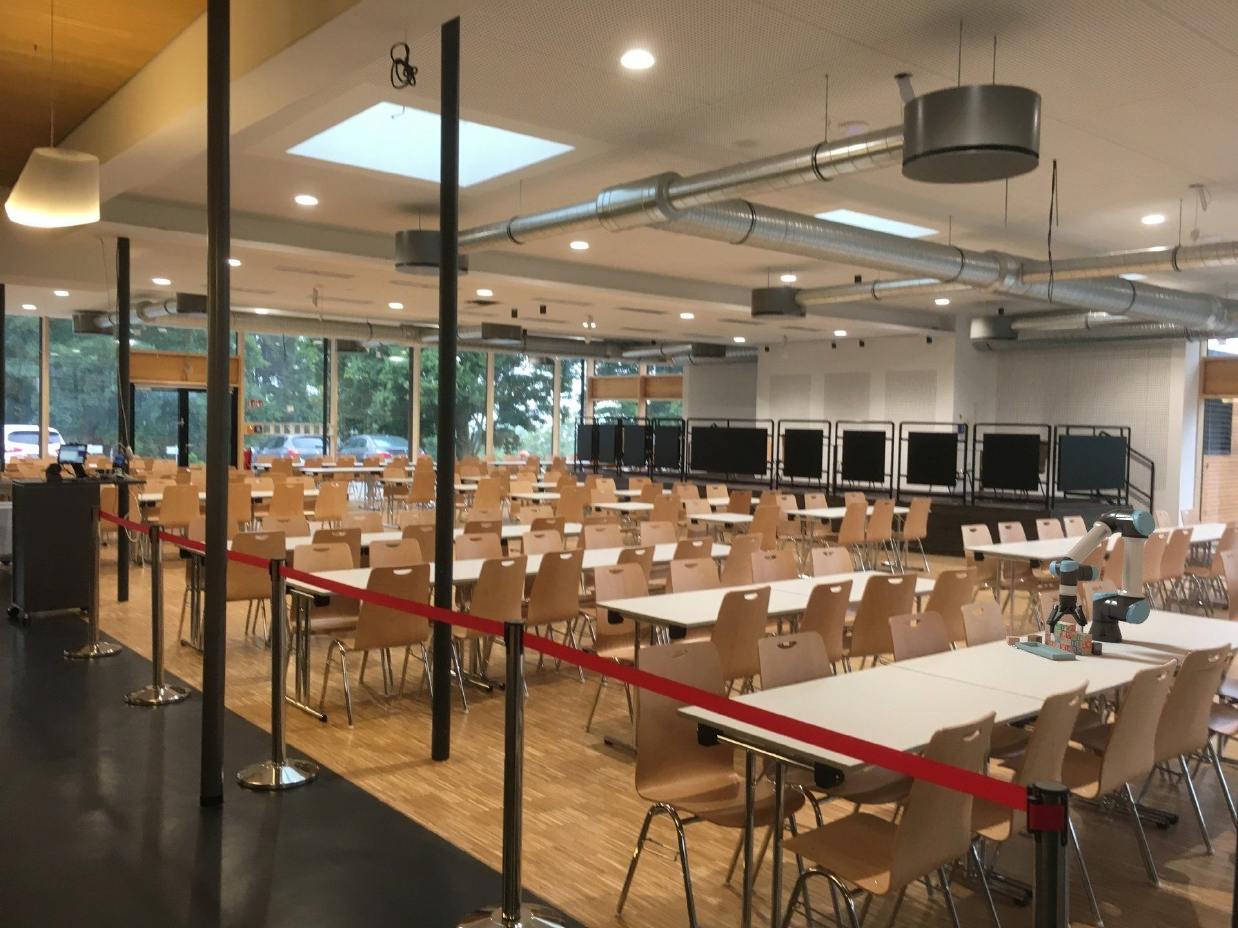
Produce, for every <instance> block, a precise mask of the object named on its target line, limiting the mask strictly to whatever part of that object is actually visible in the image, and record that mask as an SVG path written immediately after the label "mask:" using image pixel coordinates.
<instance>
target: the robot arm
mask: <svg viewBox="0 0 1238 928" xmlns="http://www.w3.org/2000/svg"><path fill="white" fill-rule="evenodd" d="M1092 526H1093V527H1092V528H1091V529H1090V530H1089V531H1088V532H1087V533H1086V534H1084V536H1083V537H1082V538H1081V539H1080V540H1078V542H1076V544H1075V545H1074V546H1073V547H1072V548H1071V549H1070V550H1068V552H1067V553H1066V554H1065V555H1064V556H1063V557H1062V558H1061V559H1060V560H1053V561H1051V563H1050V564H1049V573H1050V574H1051V575H1052V576H1054V577H1058V578H1059V595H1058V597H1059V598H1058V602H1059V604H1055V603H1054V604H1053V605H1052V610H1051V612H1050V614H1049V615H1048V617H1047V620H1046V621H1047V622H1046V624H1048V625H1050V633H1051V640H1054V641H1056V630H1057V627H1056V626H1055V625H1056V624H1057V623H1058V621H1061V619H1062V617H1063V616H1065V615H1066V616H1067V615H1071V616H1072V617H1073V618H1074V620H1075V622H1076V623H1077V624H1076V631H1079V632H1084V627H1086V626H1088V620H1087V618H1086V615H1085V613H1084V610H1083V605H1082V604H1078V585H1079V584H1078V582H1093V581H1096V580H1097V579H1098V577H1099V574H1100V573H1099V569H1098V567H1097V566H1095V565H1093V564H1083V562H1084V561H1085V560H1086V559H1088V557H1089V556H1090V555H1091V554H1092V553H1093V552H1094V551H1095V550H1096V548H1098V546H1099V545H1100V544H1102V542H1104V541H1105V540H1106V539H1107V538H1111V537H1112V536H1113V535H1114V534H1117V533H1119V534H1120V533H1121V535H1120V537H1121V538H1122V540H1123V541H1124V542H1123V543H1124V544H1123V546H1124V547H1123V557H1122V558H1123V559H1122V560H1123V561H1122V572H1121V573H1122V576H1121V577H1122V578H1121V589H1120V591H1119V592H1096V593H1094V594H1093V598H1092V617H1091V621H1092V622H1091V624H1090V628H1089V631H1088V634H1092V641H1097V642H1098V641H1099V642H1104V643H1105V642H1107V643H1120V642H1122V641H1123V635H1122V632H1121V629H1120V626H1119V624H1120V623H1119V622H1124V623H1128V624H1132V625H1140V624H1144V622H1146V621H1147V620H1148V618H1149V616H1150V613H1151V607H1150V605H1149V603H1148V602H1147V600H1146V596H1145V595H1144V593H1143V589H1142V588H1143V575H1144V559H1145V558H1144V557H1145V544H1146V542H1147V541H1148V540H1149V539H1150V538H1149V536H1151V535H1152V534H1153V533H1154V532H1155V529H1156V521H1155V518H1154V517H1153V515H1152V513H1151V512H1148V511H1146V510H1143V509H1142V510H1141V509H1130V508H1115V509H1112V510H1110V511H1108V512H1106V513H1104V514H1103V515H1101V516H1100V517H1098V519H1097V520H1095V522H1094V523H1093V525H1092Z"/></svg>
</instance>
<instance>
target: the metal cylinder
mask: <svg viewBox="0 0 1238 928" xmlns="http://www.w3.org/2000/svg"><path fill="white" fill-rule="evenodd" d="M1090 655H1094V656H1102V655H1103V643H1102V642H1098V641H1097V642H1095V641H1092V648H1091V654H1090Z"/></svg>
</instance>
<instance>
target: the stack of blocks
mask: <svg viewBox="0 0 1238 928" xmlns="http://www.w3.org/2000/svg"><path fill="white" fill-rule="evenodd" d="M1046 622H1047V620H1045V622H1044V625H1045V626H1044V627H1045V628H1044V644H1046V645H1049V646H1052V647H1055V648H1058V649H1061V650H1065V651H1068V652H1071V653H1074V654H1076V655H1080V656H1088V655H1092V654H1091V648H1092V642H1093V640H1092V634H1088V633H1087V632H1084V631H1083V632H1079V631H1077V624H1076V623H1071V622H1067V621H1062V620H1059V621H1058V623H1057V624H1056V625H1055V626H1056V627H1057V630H1056V641H1054V640H1051V633H1050V625H1048V624H1046Z"/></svg>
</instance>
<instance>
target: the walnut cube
mask: <svg viewBox="0 0 1238 928" xmlns="http://www.w3.org/2000/svg"><path fill="white" fill-rule="evenodd" d="M1026 642H1039V643H1042V644H1043V636H1042V635H1037V634H1028V635H1027V641H1026Z"/></svg>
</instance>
